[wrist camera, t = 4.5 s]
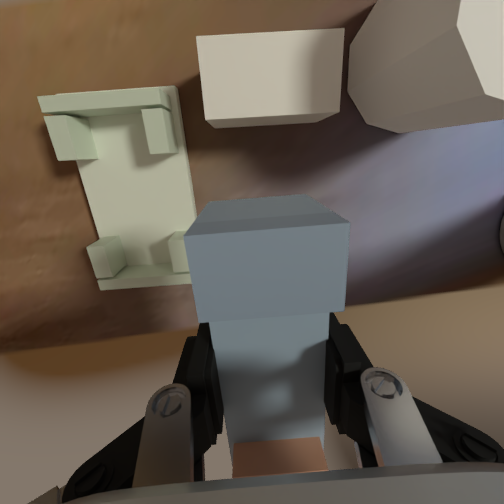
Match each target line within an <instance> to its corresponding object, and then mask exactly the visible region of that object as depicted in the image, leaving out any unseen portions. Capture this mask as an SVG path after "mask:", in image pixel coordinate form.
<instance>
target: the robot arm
mask: <svg viewBox="0 0 504 504" xmlns="http://www.w3.org/2000/svg"><path fill="white" fill-rule="evenodd" d="M500 244H501V247H502V250H503V253H504V216H503V219H502V221H501V227H500ZM324 404H325V407H326V410H327V413H328V416H329V419H330V422H331V424H332V425H335V424H336V426H337V429H338V432H339V434H347V436H348V437H350V438H351V439H353V440H354V444H355V449H356V454H357V459H358V464H359V468H358V469H344V470H332V471H319V472H306V473H294V474H281V475H269V476H257V477H245V478H233V479H222V480H211V481H205V468H204V453H205V452H206V451H207V450H208V449H209V448H210V447H211V445H214V444H216V440H217V434H222V427H223V426H222V425H223V415H224V406H223V400H222V394H221V388H220V382H219V376H218V369H217V363H216V357H215V351H214V349H213V344H212V338H211V332H210V326H209V322H205V323H200V325H199V329H198V333H197V336H191V337H187V339H186V342H185V345H184V348H183V351H182V355H181V358H180V361H179V364H178V368H177V370H176V374H175V377H174V380H173V383H172V384H169V385H167V386H164V387H162V388H161V389H159V390H158V391H157V392H155V393H154V395H152V397H151V398H150V400H149V402H148V405H147V408H146V414H145V416H144V417H143V418H142V419H141V420H139V421H138V422H137V423H135V424H134V425H133V426H132V427H130V428H129V429H128V430H126V431H125V432H124V433H122V434H121V435H120V436H119V437H117V438H116V439H115V440H113V441H112V442H111V443H109V444H108V445H107V446H105V447H104V448H103V449H102V450H101V451H99V452H98V453H96V454H95V455H94V456H93V457H91V458H90V459H89V460H87V461H86V462H85V463H84V464H82V465H81V466H80V467H79V468H78V469H77V470H76V471H75V472H74V474H73V475H72V476H71V478H70V479H69V481H68V483H67V484H66V485H65V486H63V487H62V488H60V489H59V488H58V486H56V487H54V488H52V489H51V490H49V491H48V492H46V493H44V494H43V495H41V496H39V497H38V498H36V499H34V500H33V501H31V502H29V503H28V504H504V449H503V448H502V447H501V446H500V445H499V444H498V443H497V442H496V441H495V440H494V439H492V438H491V437H490V436H488V435H487V434H485V433H483V432H482V431H480V430H478V429H476V428H474V427H472V426H470V425H468V424H466V423H464V422H462V421H460V420H458V419H456V418H454V417H452V416H450V415H448V414H446V413H444V412H442V411H440V410H438V409H436V408H434V407H432V406H430V405H428V404H426V403H424V402H422V401H420V400H418V399H416V398H414V397H412V396H411V394H410V391H409V389H408V387H407V385H406V384H405V383H404V381H403V380H402V379H401V378H400V377H399V376H398V375H397V374H395V373H393V372H392V371H389V370H387V369H384V368H378V367H376V368H375V367H373V365H372V364H371V362H370V360H369V359H368V357H367V356H366V354H365V352H364V351H363V349H362V348H361V346H360V344H359V342H358V341H357V339H356V337H355V336H354V334H353V332H352V331H351V329H350V328H349V326H348V325H347V324H340V323H339V322H338V320H337V318H336V316H335V315H334V313H333V312H330V313H329V335H328V340H326V354H325V380H324Z"/></svg>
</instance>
